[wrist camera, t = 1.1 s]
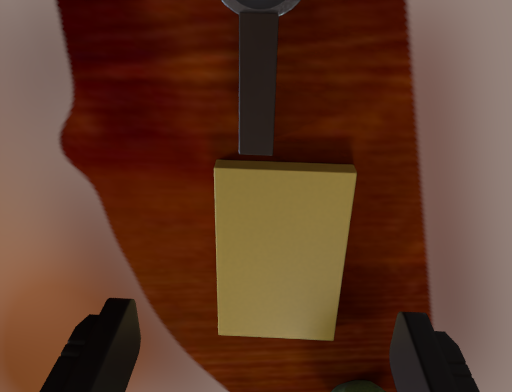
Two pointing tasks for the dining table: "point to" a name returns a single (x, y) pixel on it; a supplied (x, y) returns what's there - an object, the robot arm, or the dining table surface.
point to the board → (281, 246)
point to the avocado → (358, 387)
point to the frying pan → (258, 71)
